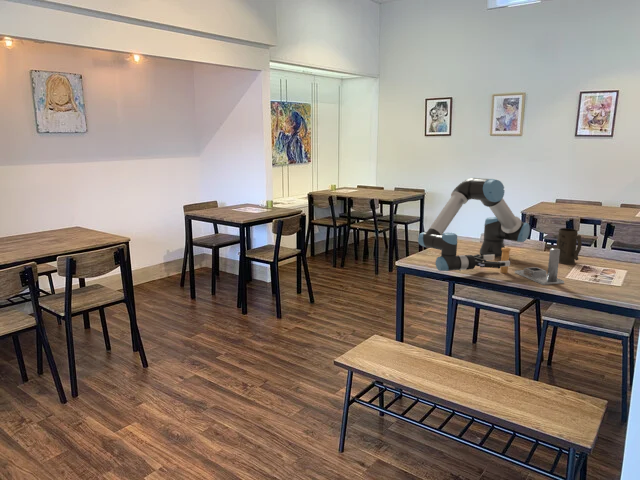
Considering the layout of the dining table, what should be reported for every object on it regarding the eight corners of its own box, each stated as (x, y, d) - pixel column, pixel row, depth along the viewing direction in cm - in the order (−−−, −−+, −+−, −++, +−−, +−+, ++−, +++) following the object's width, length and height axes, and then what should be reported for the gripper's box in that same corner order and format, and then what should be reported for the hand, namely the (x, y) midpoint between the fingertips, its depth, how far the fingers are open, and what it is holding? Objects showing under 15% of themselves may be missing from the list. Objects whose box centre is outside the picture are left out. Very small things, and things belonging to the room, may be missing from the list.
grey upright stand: (514, 272, 248) (517, 241, 244) (534, 271, 251) (537, 240, 247) (543, 285, 226) (547, 250, 223) (565, 283, 229) (568, 249, 225)
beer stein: (549, 260, 273) (554, 228, 268) (561, 258, 278) (566, 226, 272) (572, 268, 260) (579, 234, 255) (584, 266, 265) (591, 232, 260)
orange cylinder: (497, 271, 250) (499, 247, 248) (505, 270, 251) (507, 247, 249) (502, 273, 246) (504, 249, 243) (510, 273, 247) (512, 249, 244)
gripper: (452, 263, 254) (487, 261, 259) (478, 276, 231) (515, 273, 235) (453, 250, 253) (488, 248, 257) (479, 261, 229) (517, 258, 234)
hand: (501, 260), depth 246 cm, fingers open, 13 cm apart
